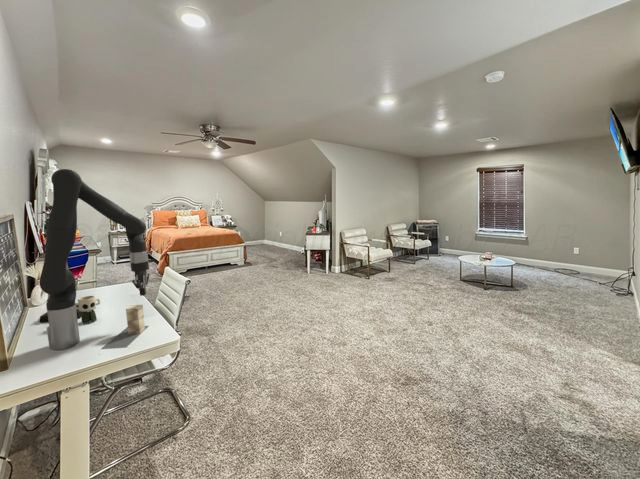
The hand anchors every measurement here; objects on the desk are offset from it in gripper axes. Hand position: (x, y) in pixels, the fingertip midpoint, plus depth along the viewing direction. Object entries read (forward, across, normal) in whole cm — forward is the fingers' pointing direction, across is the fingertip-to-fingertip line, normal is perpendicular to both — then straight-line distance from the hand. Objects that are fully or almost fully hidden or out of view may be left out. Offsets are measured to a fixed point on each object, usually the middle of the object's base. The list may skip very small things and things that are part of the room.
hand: (143, 295), depth 146 cm
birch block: (+15, +9, 0) cm, 17 cm away
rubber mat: (+16, +14, -2) cm, 21 cm away
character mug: (+15, -9, -32) cm, 36 cm away
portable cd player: (+16, -21, -50) cm, 56 cm away
